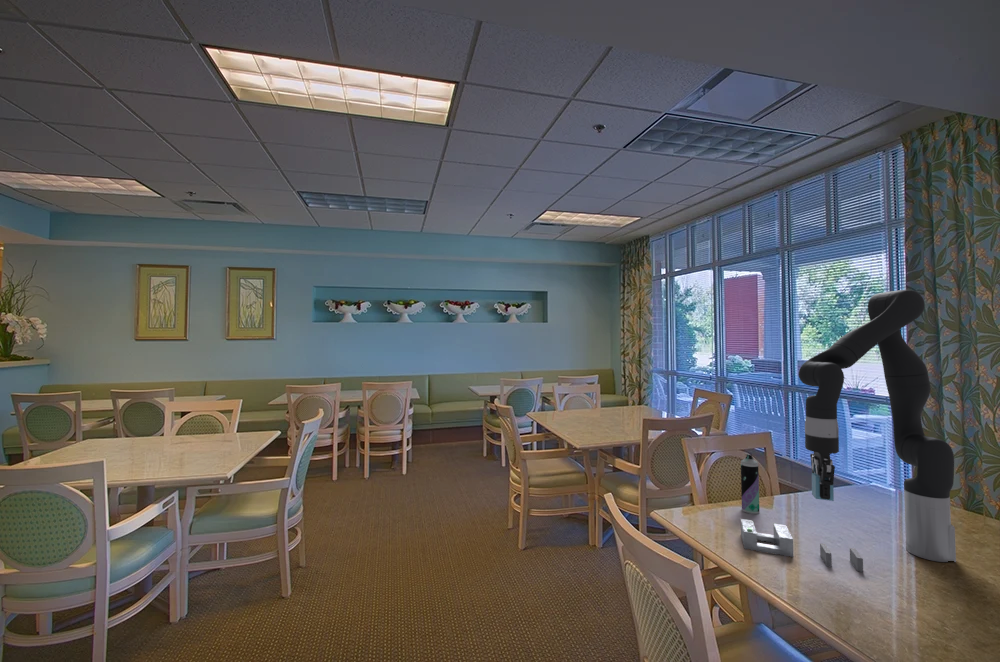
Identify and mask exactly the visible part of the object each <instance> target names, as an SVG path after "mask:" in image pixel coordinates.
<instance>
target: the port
mask: <svg viewBox="0 0 1000 662" xmlns="http://www.w3.org/2000/svg"><path fill="white" fill-rule="evenodd" d="M772 525H773V534H769V533H762V532H757V528H756V527H755V523H754V521H753V520H751V519H746V518H740V536H741V541H742V544H743V548H744V550H747V549H751V550H750V551H753V550H756V551H755V552H759V551H761V553H765V552H768V553H767V554H771V553H774V554H773V555H777V554H780V555H779V556H783V555H784V557H789V556H790V558H791V557H792V558H794V539H793V536H792V534H791V531H790V530H789V528H788V526H787V525H786V524H780V523H773V524H772ZM758 540H761V541H760V542H761V543H760V542H758ZM764 541H766V542H765V543H762V542H764ZM770 542H771V543H772V544H767V543H770ZM774 544H775V545H774Z"/></svg>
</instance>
